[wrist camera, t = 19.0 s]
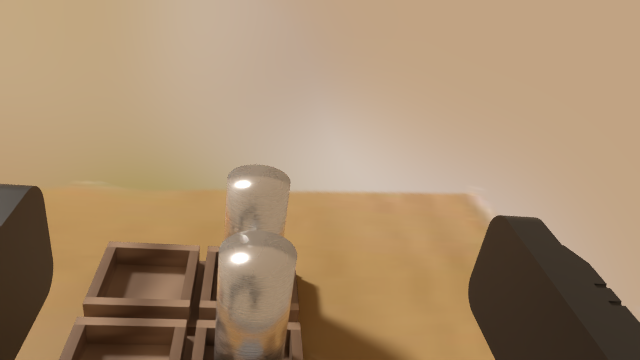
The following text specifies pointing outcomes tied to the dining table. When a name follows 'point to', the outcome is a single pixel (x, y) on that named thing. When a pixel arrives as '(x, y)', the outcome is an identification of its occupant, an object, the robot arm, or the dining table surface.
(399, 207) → the dining table surface
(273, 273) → the steel billet
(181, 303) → the tray
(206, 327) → the tray
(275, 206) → the cylinder
